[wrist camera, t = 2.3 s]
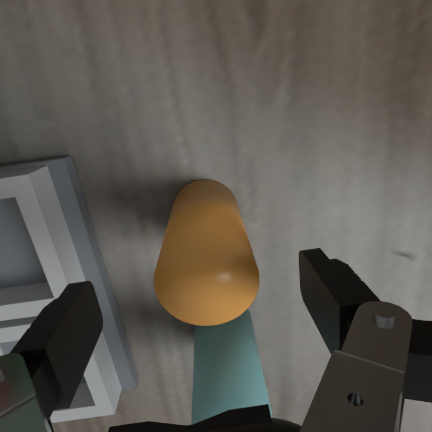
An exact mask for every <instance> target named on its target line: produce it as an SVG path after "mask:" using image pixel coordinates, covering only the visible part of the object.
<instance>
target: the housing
mask: <svg viewBox="0 0 432 432" xmlns="http://www.w3.org/2000/svg"><path fill="white" fill-rule="evenodd" d="M83 281H91V282H92V284H93V286H94V289H95V293H96V296H97V299H98V302H99V305H100V309H101V312H102V315H103V329H102V332H101V334H100V337H99V339H98V341H97V344H96V346H95V349H94V351H93V353H92V356H91V358H90V360H89V363H88V365H87V368H86V370H85V372H84V375H83V377H82V379H81V382H80V384H79V386H78V389H77V391H76V394H75V396H74V398H73V401H72V403H71V405H70V408H67V409H60V410H53V413H52V415H51V417H50V420H51V422H52V423H55V422H62V421H69V420H77V419H84V418H91V417H99V416H106V415H113V414H115V411H116V407H117V404H118V400H119V396H120V393H121V391H126V390H133V389H136V387H137V383H138V378H139V377H138V374H137V370H136V367H135V364H134V361H133V357H132V354H131V351H130V347H129V344H128V341H127V338H126V334H125V331H124V328H123V324H122V321H121V318H120V315H119V311H118V308H117V305H116V301H115V298H114V295H113V291H112V288H111V285H110V282H109V278H108V275H107V272H106V268H105V265H104V262H103V259H102V255H101V252H100V249H99V245H98V242H97V239H96V236H95V232H94V229H93V226H92V222H91V219H90V216H89V213H88V209H87V206H86V203H85V199H84V196H83V193H82V189H81V186H80V183H79V180H78V176H77V173H76V170H75V166H74V163H73V160H72V157H71V155H69V156H62V157H56V158H49V159H42V160H35V161H29V162H22V163H15V164H8V165H1V166H0V356H2V355H5V354H9V353H10V352H11V350H12V349H13V348H14V346H15V345H16V344H17V342H18V341H19V340H20V338H21V337H22V336H23V334H24V333H25V332H26V330H27V329H28V328H30V325H31V324H32V322H33V321H34V320H36V317H37V316H38V314H39V313H40V312H41V310H42V309H43V308H44V307H45V306H46V305H48V304H49V303H50V302H52V301H53V300H54V299H55V298H58V297H59V296H60V295H61V293H62V292H63V290H64V289H65V288H66V286H67V285H68V284H70V283H76V282H83Z"/></svg>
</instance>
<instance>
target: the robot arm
mask: <svg viewBox="0 0 432 432" xmlns="http://www.w3.org/2000/svg"><path fill="white" fill-rule="evenodd" d="M299 272H300V289H301V294H302V298H303V301H304V303H305V305H306V307H307V309H308V311H309V313H310V315H311V317H312V319H313V320H314V322H315V324H316V326H317V328H318V330H319V332H320V334H321V336H322V338H323V340H324V342H325V344H326V345H327V347H328V349H329V351H330V353H331V357H330V360H329V362H328V364H327V367H326V369H325V372H324V374H323V376H322V379H321V381H320V384H319V386H318V388H317V391H316V393H315V396H314V398H313V400H312V403H311V405H310V408H309V410H308V412H307V415H306V417H305V420H304V422H303V424H302V426H300V425H298V424H295V423H293V422H290V421H286V420H282V419H278V418H271V414H270V409H269V405H268V404H265V405H258V406H251V407H244V408H237V409H230V410H227V411H225V412H222V413H220V414H217V415H215V416H212V417H210V418H207V419H205V420H202V421H200V422H197V423H195V424H192V425H188V426H185V425H176V424H167V423H159V422H150V421H147V422H140V423H133V424H126V425H120V426H113V427H109V431H108V432H400V431H401V424H402V417H403V410H404V403H405V399H411V400H417V401H424V402H431V403H432V321H423V320H415V319H412V317H411V316H410V314H409V313H408V312H407V311H405V310H404V309H403V308H401V307H399V306H397V305H395V304H392V303H388V302H382V301H380V300H379V299H378V297H377V296H376V295H375V294H374V293H373V292H372V291H371V290H370V289H369V287H368V286H367V285H366V284H365V283H364V282H363V281H361V279H360V278H359V276H358V275H357V274H355V272H354V271H353V270H352V269H351V268H350V267H349V265H348V264H346V263H344V262H342V261H340V260H338V259H330V260H329V258H328V257H327V256H326V255H325V254H324V252H323V251H322V250H321V249H320V248H316V249H309V250H302V251H300V252H299ZM102 329H103V315H102V312H101V309H100V305H99V302H98V299H97V296H96V293H95V289H94V286H93V284H92V282H91V281H83V282H76V283H70V284H68V285H67V286H66V288H65V289H64V290H63V292H62V293H61V295H60V296H59V297H58V298H55V299H54V300H53V301H52V302H50V303H49V304H48V305H46V306H45V307H44V308H43V309H42V310H41V312H40V313H39V314H38V316H37V317H36V320H34V321H33V322H32V324H31V325H30V328H28V329H27V330H26V332H25V333H24V334H23V336H22V337H21V338H20V340H19V341H18V342H17V344H16V345H15V346H14V348H13V349H12V350H11V352H10V353H9V354H5V355H2V356H0V432H55V429H54V427H53V424H52V422H51V420H50V417H51V415H52V413H53V410H60V409H67V408H70V405H71V403H72V401H73V398H74V396H75V394H76V391H77V389H78V386H79V384H80V382H81V379H82V377H83V375H84V372H85V370H86V368H87V365H88V363H89V360H90V358H91V356H92V353H93V351H94V349H95V346H96V344H97V341H98V339H99V337H100V334H101V332H102Z"/></svg>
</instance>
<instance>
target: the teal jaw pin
mask: <svg viewBox="0 0 432 432" xmlns="http://www.w3.org/2000/svg"><path fill="white" fill-rule="evenodd" d="M265 404H268V405H269V409H270V414H271V418H273V417H272V412H271V408H270V403H269V399H268V394H267V389H266V385H265V380H264V376H263V371H262V366H261V362H260V357H259V352H258V348H257V343H256V339H255V334H254V329H253V325H252V320H251V316H250V313H249V311H248V309H247V310H245V311H244V312H243V313H242V314H241V315H239V316H238V317H236V318H235V319H233V320H231V321H228V322H226V323H222V324H218V325H211V326H200V325H195V338H194V368H193V398H192V424H195V423H197V422H200V421H202V420H205V419H207V418H210V417H212V416H215V415H217V414H220V413H222V412H225V411H227V410H230V409H237V408H244V407H251V406H258V405H265Z"/></svg>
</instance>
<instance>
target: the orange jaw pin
mask: <svg viewBox="0 0 432 432" xmlns="http://www.w3.org/2000/svg"><path fill="white" fill-rule="evenodd" d="M154 288H155V292H156V295H157V298H158V300H159V302H160V303H161V304H162V306H163V307H164V308H165V309H166V310H167V311H168V312H169V313H170V314H171V315H173V316H174V317H176V318H177V319H179V320H181V321H183V322H186V323H189V324H193V325H200V326H211V325H218V324H222V323H226V322H228V321H231V320H233V319H235V318H236V317H238V316H239V315H241V314H242V313H243V312H244V311H245V310H247V309H248V307H249V306H250V305H251V304H252V302H253V300H254V299H255V297H256V294H257V291H258V288H259V272H258V268H257V265H256V262H255V258H254V255H253V252H252V249H251V246H250V243H249V240H248V237H247V233H246V230H245V227H244V224H243V221H242V218H241V215H240V211H239V208H238V205H237V202H236V199H235V197H234V195H233V194H232V192H231V191H230V190H229V189H228V188H227V187H226V186H225V185H223V184H221V183H219V182H217V181H214V180H205V179H204V180H197V181H194V182H191V183H189V184H187V185H186V186H184V187H183V188H182V189H181V190H180V191H179V192H178V194H177V196H176V198H175V200H174V203H173V207H172V210H171V214H170V218H169V221H168V225H167V229H166V233H165V236H164V240H163V244H162V247H161V251H160V255H159V258H158V262H157V266H156V270H155V274H154Z"/></svg>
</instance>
